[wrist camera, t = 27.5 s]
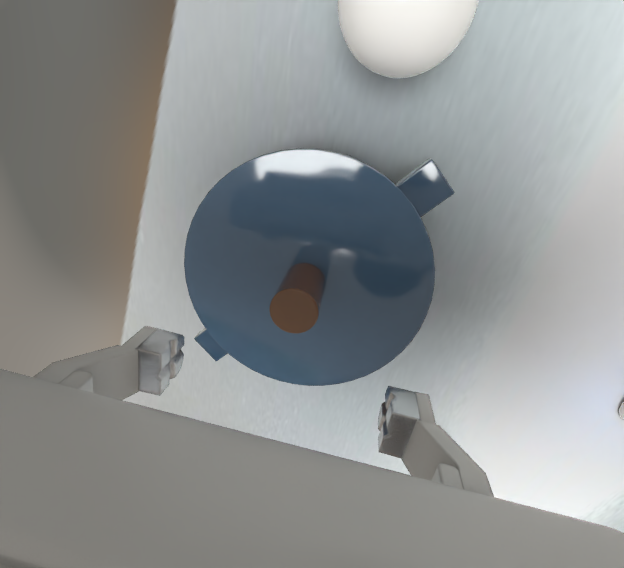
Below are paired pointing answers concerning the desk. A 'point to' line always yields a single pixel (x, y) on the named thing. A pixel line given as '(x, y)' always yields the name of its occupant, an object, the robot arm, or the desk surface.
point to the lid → (309, 267)
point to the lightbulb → (404, 32)
